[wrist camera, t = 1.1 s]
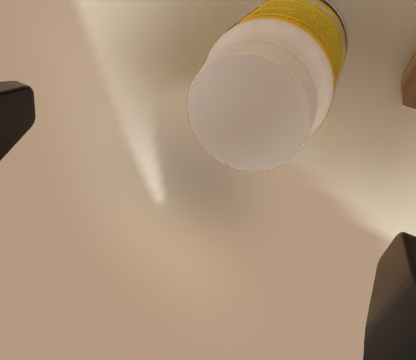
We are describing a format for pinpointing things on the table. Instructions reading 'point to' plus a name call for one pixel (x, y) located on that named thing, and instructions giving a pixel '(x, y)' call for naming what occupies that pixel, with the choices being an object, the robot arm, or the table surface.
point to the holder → (409, 84)
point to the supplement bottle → (268, 83)
